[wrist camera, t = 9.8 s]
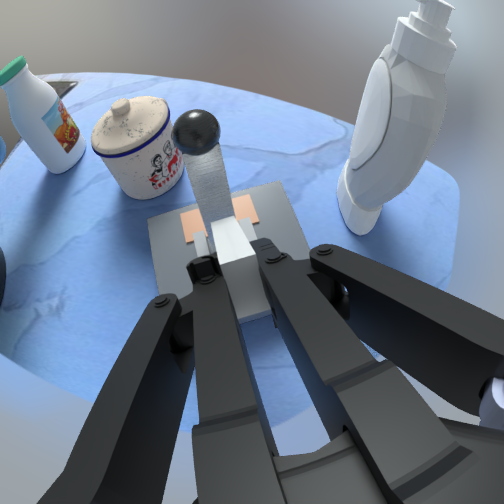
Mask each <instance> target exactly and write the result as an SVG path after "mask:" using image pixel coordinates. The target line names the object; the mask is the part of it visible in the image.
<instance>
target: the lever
mask: <svg viewBox="0 0 504 504" xmlns="http://www.w3.org/2000/svg"><path fill="white" fill-rule="evenodd" d="M172 138H173V141H174V144H175V145H176V147H177V148H178V149H179V150H180V151H181V152H182V157H183V160H184V163H185V167H186V170H187V173H188V176H189V179H190V183H191V186H192V189H193V192H194V195H195V198H196V201H197V204H198V207H199V211H200V214H201V217H202V220H203V223H204V226H205V229H206V232H207V235H208V237H209V240H210V243H211V246H212V249H213V252H214V253H216V252H217V251H216V247H215V242H214V237H213V232H212V227H211V222H214V221H218V220H221V219H224V218H228V217H231V216H234V217H235V212H234V208H233V203H232V199H231V194H230V190H229V185H228V180H227V176H226V171H225V167H224V162H223V157H222V153H221V148H220V144H219V142H218V141H219V138H220V125H219V123H218V121H217V119H216V118H215V117H214V116H213V115H212V114H211V113H209V112H207V111H205V110H200V109H195V110H190V111H187V112H185V113H183V114H182V115H181V116H180V117H179V118H178V119H177V120H176V122H175V124H174V126H173V130H172ZM235 218H236V217H235Z"/></svg>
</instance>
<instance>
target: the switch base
mask: <svg viewBox="0 0 504 504" xmlns="http://www.w3.org/2000/svg"><path fill="white" fill-rule="evenodd" d="M230 194H231V199H232V203H233V208H234V212H235V217H236V220H237V222H238V224H239V225H240V227H241V229H242V231H243V232H244V234H245V236H246V238H247V239H248V241H249V242H250V241H254V240H257V239H260V238H268V239H270V240H271V241H272V242H273V244H274V245H275V246H276V247H277V248H278V249H279V251H280V252H284V253H287V254H289V255H290V256H291V257H292V258H293V260H303V259H310V256H309V252H310V248H309V246H308V243H307V241H306V239H305V236H304V234H303V231H302V229H301V227H300V224H299V222H298V220H297V217H296V215H295V213H294V210H293V208H292V206H291V204H290V201H289V199H288V197H287V195H286V192H285V190H284V188H283V186H282V183H281V181H280V180H279V181H275V182H271V183H267V184H263V185H260V186H256V187H252V188H248V189H244V190H241V191H237V192H233V193H230ZM147 224H148V232H149V239H150V245H151V252H152V258H153V264H154V270H155V275H156V281H157V286H158V291H159V295H161V294H166V293H173V294H176V296H177V297H178V300H179V299H181V298H183V297H185V296H187V295H188V294H190V293H191V292H192V291H193V284H192V282H191V279H190V276H189V274H188V271H187V268H186V266H187V264H188V263H189V262H190V261H192V260H193V259H195V258H198V257H200V256H204V255H210V254H213V253H214V252H213V249H212V246H211V243H210V240H209V237H208V235H207V232H206V229H205V226H204V223H203V220H202V217H201V214H200V211H199V207H198V204H197V203H195V204H192V205H188V206H185V207H182V208H179V209H175V210H172V211H169V212H166V213H163V214H160V215H157V216H154V217H151V218H148V219H147ZM268 304H269V303H268ZM269 307H270V305H269ZM271 314H272V312H271V308H270V309H268V310H265V311H262V312H259V313H255V314H252V315H249V316H246V317H242V318H239V319H238V321H239V324H242V323H245V322H249V321H252V320H255V319H259V318H262V317H265V316H268V315H271Z"/></svg>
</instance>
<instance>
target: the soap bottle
mask: <svg viewBox="0 0 504 504" xmlns="http://www.w3.org/2000/svg"><path fill="white" fill-rule="evenodd" d="M417 1H419V2H420V4H419V8H418V13H417V12H410V14H409V18H406V17H399V18H398V20H397V23H396V27H395V31H394V35H393V38H392V42H391V44H389V45H386V46H385V48H384V50H383V51H382V53H381V55H380V56H379V58H378V59H377V60H376V61H375V63H374V64H373V67H372V69H371V71H370V74H369V77H368V80H367V83H366V86H365V90H364V94H363V97H362V101H361V105H360V108H359V112H358V116H357V120H356V125H355V129H354V133H353V137H352V142H351V148H350V157H349V158H348V160H347V162H346V163H345V165H344V167H343V170H342V172H341V174H340V176H339V179H338V185H337V192H336V193H337V198H338V203H339V208H340V211H341V213H342V216H343V218H344V221H345V223H346V225H347V227H348V228H349V229H350V230H351V231H352V232H353V233H355V234H357V235H359V236H360V235H365V234H367V233H368V232H370V231H371V230H372V229H373V227H374V225H375V223H376V221H377V219H378V217H379V215H380V212H381V209H382V206H383V204H384V203H386V202H388V201H390V200H391V199H393V198H394V197H396V196H397V195H398V194H400V193H401V192H402V191H404V190H405V189H406V188H407V187H408V186H409V185H410V183H411V182H412V181H413V179H414V178H415V176H416V175H417V173H418V172H419V170H420V168H421V167H422V165H423V163H424V162H425V160H426V158H427V156H428V154H429V152H430V151H431V149H432V147H433V145H434V143H435V141H436V138H437V136H438V134H439V132H440V129H441V125H442V122H443V118H444V115H445V111H446V107H447V104H446V103H447V102H446V88H445V73H446V71H447V69H448V67H449V65H450V62H451V60H452V58H453V55H454V53H455V51H456V48H457V46H456V45H455V43H454V42H453V41H451V40H450V36H451V33H452V32H451V31H450V30H449V29H448V28H447V27H446V25H447V23H448V20H449V17H450V14H451V10H452V9H455V8H454V7H453V6H451V5H450V4H448V3H446V2H445V1H443V0H417Z"/></svg>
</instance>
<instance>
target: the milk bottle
mask: <svg viewBox="0 0 504 504" xmlns="http://www.w3.org/2000/svg"><path fill="white" fill-rule="evenodd" d="M0 86H1V88H2V89H4V90H5V92H6V95H7V99H8V103H9V111H10V117H11V120H12V122H13V124H14V126H15V128H16V129H17V131H18V132H19V134H20V135H21V137H22V138H23V139H24V141H25V142H26V143H27V144H28V146H29V147H30V148H31V150H32V151H33V152H34V153H35V154H36V156H37V157H38V158H39V159H40V160H41V162H42V163H43V164H44V165H45V166H46V168H47V169H48V170H49V171H50V172H52V173H55V174H60V173H63V172H65V171H67V170H69V169H70V168H71V167H73V166H74V165H75V164H76V163H77V162H78V161H79V159H80V158H81V157H82V155H83V153H84V151H85V148H86V142H85V139H84V137H83V135H82V134H81V132H80V131H79V129H78V127H77V126H76V124H75V123H74V121H73V119H72V118H71V116H70V114H69V113H68V111H67V110H66V108H65V106H64V105H63V103H62V101H61V100H60V98H59V97H58V95H57V94H56V92H55V91H54V89H53V88H52V87H51V86H50V85H49V84H47V83H46V82H44V81H42V80H41V79H39V78H37V77H36V76H34V75H33V74H32V73H31V72H30V71H29V70H28V65H27V63H26V60H25V58H24V57H23V56H19V57H17V58H16V59H15V60H13V61H12V62H10V63H9V64H8V65H7V66H6V67H5V68H3V69H2V71H0Z"/></svg>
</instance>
